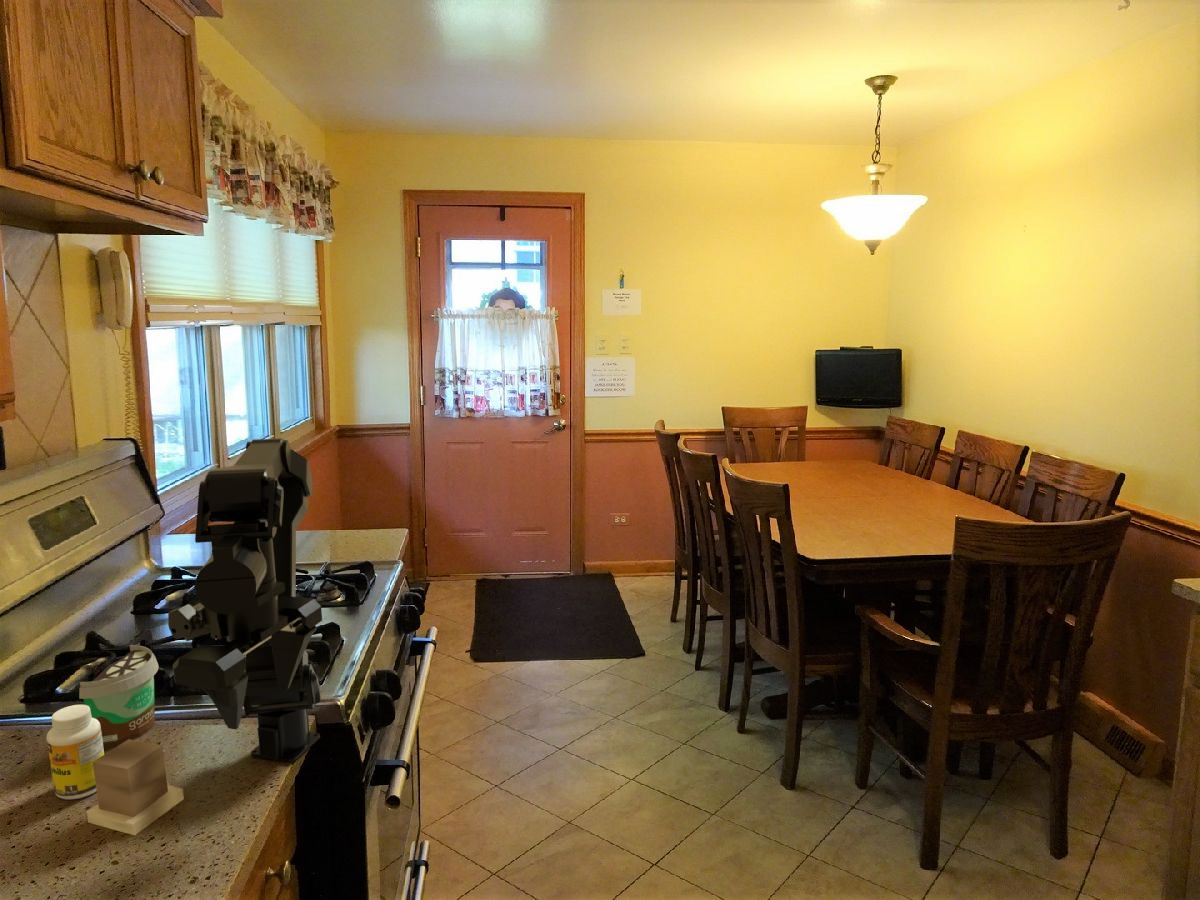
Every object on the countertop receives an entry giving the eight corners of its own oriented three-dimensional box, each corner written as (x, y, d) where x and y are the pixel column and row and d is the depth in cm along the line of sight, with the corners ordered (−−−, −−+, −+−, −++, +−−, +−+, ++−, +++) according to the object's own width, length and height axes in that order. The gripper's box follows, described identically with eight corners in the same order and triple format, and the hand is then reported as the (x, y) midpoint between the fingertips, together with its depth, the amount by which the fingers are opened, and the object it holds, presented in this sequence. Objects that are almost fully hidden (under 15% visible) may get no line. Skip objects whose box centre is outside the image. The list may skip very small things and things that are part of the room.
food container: (133, 754, 108) (124, 684, 106) (87, 754, 109) (77, 684, 107) (181, 707, 121) (174, 643, 119) (140, 706, 121) (132, 643, 119)
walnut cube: (134, 784, 100) (128, 739, 99) (168, 791, 98) (162, 745, 97) (99, 809, 95) (92, 762, 94) (133, 816, 94) (127, 768, 92)
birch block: (139, 792, 101) (138, 777, 101) (184, 803, 99) (182, 788, 99) (88, 826, 95) (86, 811, 95) (135, 840, 93) (133, 824, 92)
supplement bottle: (45, 793, 100) (33, 716, 98) (91, 770, 105) (81, 696, 103) (70, 807, 98) (59, 728, 96) (117, 783, 102) (107, 707, 100)
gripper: (240, 547, 102) (251, 664, 105) (121, 603, 85) (138, 741, 88) (320, 554, 100) (328, 673, 103) (214, 614, 82) (228, 755, 85)
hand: (259, 707), depth 95 cm, fingers open, 9 cm apart
